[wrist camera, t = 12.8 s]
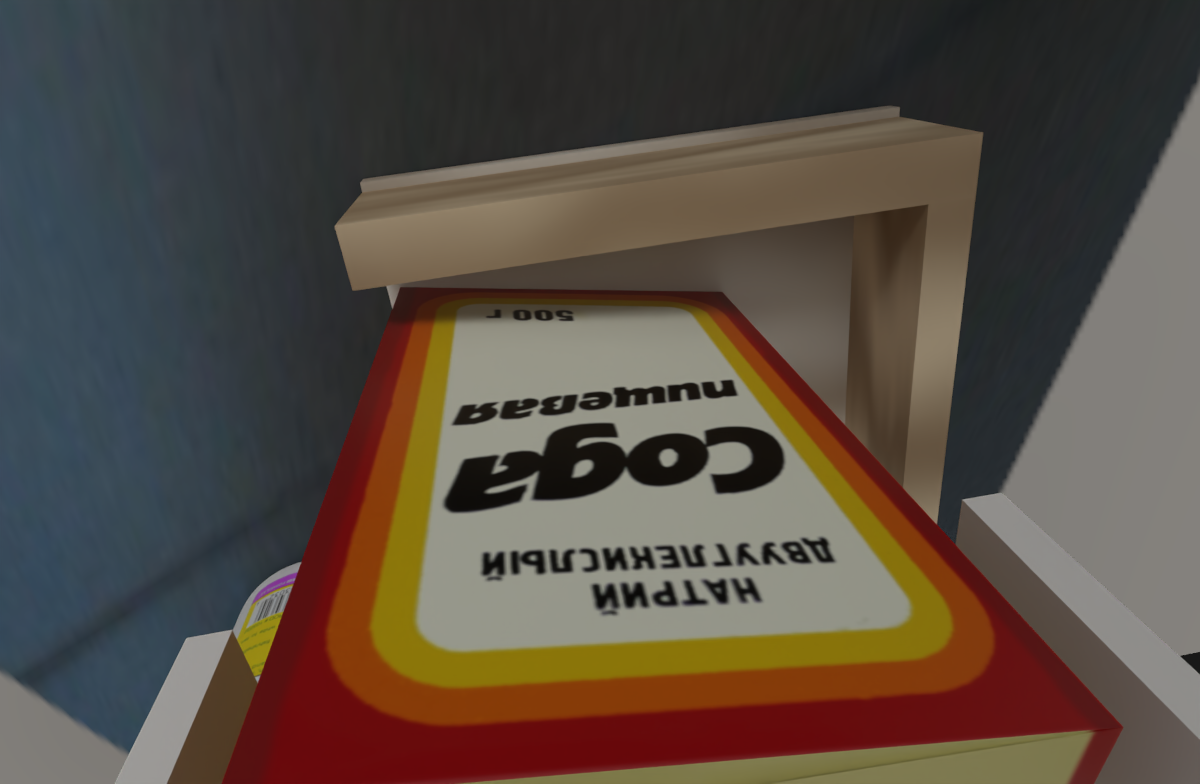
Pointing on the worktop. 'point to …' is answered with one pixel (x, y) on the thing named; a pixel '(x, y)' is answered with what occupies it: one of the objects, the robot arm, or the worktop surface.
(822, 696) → the baking soda box
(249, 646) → the supplement bottle
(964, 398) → the worktop surface
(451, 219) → the wooden corner frame
